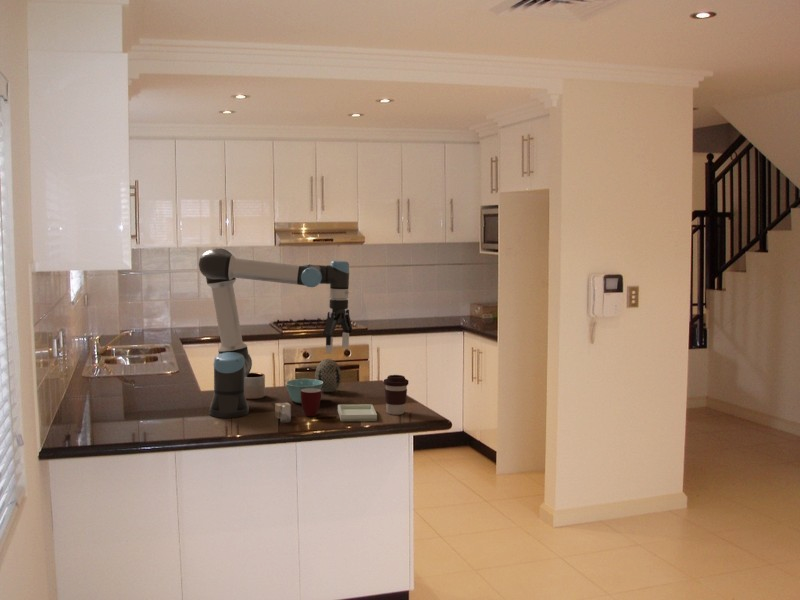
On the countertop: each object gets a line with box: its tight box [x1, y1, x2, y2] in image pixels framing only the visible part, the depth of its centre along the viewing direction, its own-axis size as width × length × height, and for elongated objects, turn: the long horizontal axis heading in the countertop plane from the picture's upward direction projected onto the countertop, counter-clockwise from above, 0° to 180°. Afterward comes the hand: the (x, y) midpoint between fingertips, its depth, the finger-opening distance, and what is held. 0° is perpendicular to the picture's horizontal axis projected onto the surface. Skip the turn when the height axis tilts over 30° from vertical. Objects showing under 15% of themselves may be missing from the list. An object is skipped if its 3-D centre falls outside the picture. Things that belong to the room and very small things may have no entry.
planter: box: [244, 372, 266, 400], centre depth 353 cm, size 11×11×10 cm
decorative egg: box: [314, 358, 342, 393], centre depth 365 cm, size 12×12×15 cm
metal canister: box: [279, 404, 292, 424], centre depth 314 cm, size 4×4×6 cm
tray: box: [337, 403, 378, 422], centre depth 325 cm, size 14×17×2 cm
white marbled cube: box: [274, 402, 291, 419], centre depth 320 cm, size 5×5×5 cm
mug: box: [300, 388, 322, 417], centre depth 325 cm, size 10×8×10 cm
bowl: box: [285, 378, 323, 404], centre depth 347 cm, size 16×16×8 cm
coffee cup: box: [383, 374, 409, 416], centre depth 330 cm, size 10×10×15 cm
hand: (337, 350), depth 335 cm, fingers open, 13 cm apart
